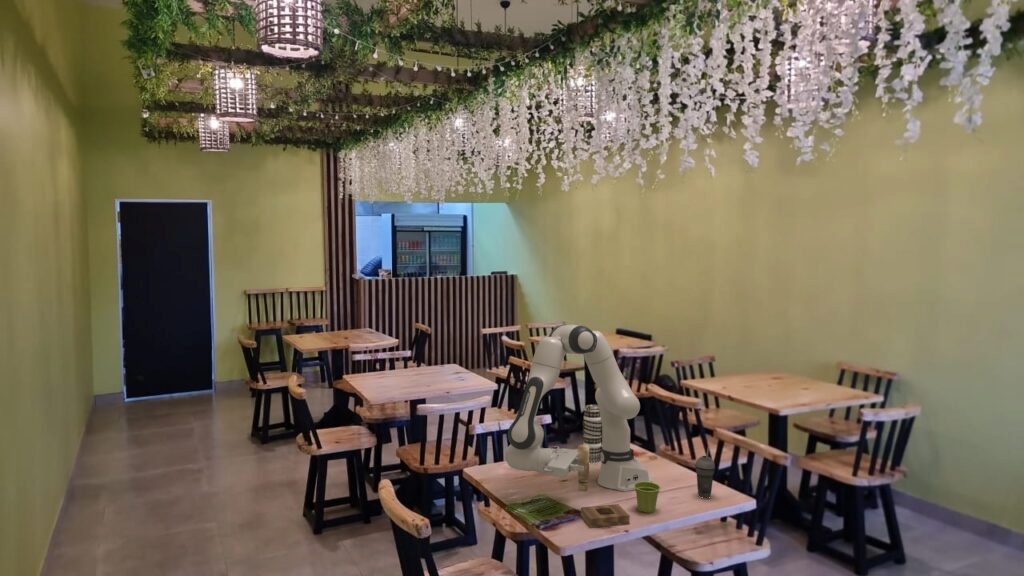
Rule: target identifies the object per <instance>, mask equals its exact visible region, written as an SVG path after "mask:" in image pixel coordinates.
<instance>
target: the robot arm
mask: <svg viewBox="0 0 1024 576" xmlns="http://www.w3.org/2000/svg"><path fill="white" fill-rule="evenodd" d="M567 354H578V355H583V357H584V360H585V363H586V365H587V368H588V370H589V373H590V375H591V378H592V380H593V382H594V383H595V384H596V386H597V389H596V390H595V395H594V398H595V401H596V403H597V404H596V405H598V407H599V412H600V418H601V423H602V424H601V426H602V432H601V434H602V437H601V446H602V447H601V463H600V464H601V465H600V471H599V476H598V478H597V483H598V485H600V486H601V487H604V488H606V489H611V490H617V491H620V492H629V491H635V488H634V484H635V483H638V482H652V483H655V481H654V480H653V478H651V476H649V471H648V469H647V468H648V467H646V465H644V464H643V463H642V462H641V461H639V460H638V459H637V457H639V455H640V454H639V452H638V451H637V450H634V449H633V448H631V428H630V426H629V423H628V420H631V419H633V418H635V417H636V416H637V415H638V414H639V412H640V409H641V404H640V401H639V398H637V396H636V395H635V393H634V392H633V390H632V389H631V387H630V385H629V383H628V381H627V380H626V378H625V377H624V375H623V373H622V372H621V370H620V368H619V366H618V363H617V361H616V358H615V355H614V353H613V351H612V348H611V345H610V344H609V342H608V340H607V339H606V337H605V336H604V334H603V333H602V332H601V331H599V330H592V329H590V327H589V328H588V327H587V326H585V325H577V324H562V325H557V326H555V327H554V328H553V329H552V330H551V331H550V333H549V335H548V336H546V337H542V338H541V339H539V341H538V344H537V346H536V349H535V352H534V355H533V357H532V360H531V362H532V363H531V365H530V371H529V373H528V374H529V375H528V379H527V383H526V387H525V389H524V392H523V394H522V399H521V401H520V404H519V407H518V408H519V409H518V411H517V412H518V413H517V415H516V417H515V419H514V420H513V422H512V423H511V424H510V426H509V427H508V431H507V439H508V442H509V443H510V444H509V446H507V447H506V450H505V461H506V463H507V465H508V466H509V468H510V467H511V468H512V469H515V470H518V471H523V472H536V473H539V474H547V475H549V476H551V477H556V478H567V477H568V476H569V474H571V472H578V471H584V469H585V466H584V465H581V464H580V465H578V450H576V449H570V448H560V446H558V445H554V446H552V447H547V448H544V447H542V445H543V442H544V439H545V438H544V437H545V431H544V427H542V425H541V424H540V423H538V422H537V421H535V419H536V415H537V413H538V409H539V406H540V401H541V400H542V398H543V396H544V395H546V393H547V392H549V391H550V390H552V389H553V388H554V387H555V386H556V383H557V381H558V379H559V376H560V374H561V369H562V363H563V361H564V357H565V356H566V355H567ZM635 457H636V458H635Z"/></svg>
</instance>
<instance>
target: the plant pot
mask: <svg viewBox="0 0 1024 576" xmlns="http://www.w3.org/2000/svg"><path fill="white" fill-rule="evenodd" d="M634 488H635V490H634V491H635V494H636V502H637V509H638V511H640V512H644V513H646V514H650V513H654V512H655V511H656V508H657V502H658V501H657V500H658V496H659V493H660V490H661V486H660V485H659V484H657V483H656V482H654V483H652V482H638V483H635V484H634Z"/></svg>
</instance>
